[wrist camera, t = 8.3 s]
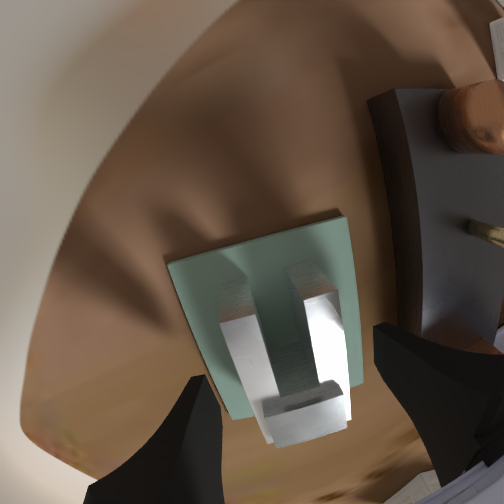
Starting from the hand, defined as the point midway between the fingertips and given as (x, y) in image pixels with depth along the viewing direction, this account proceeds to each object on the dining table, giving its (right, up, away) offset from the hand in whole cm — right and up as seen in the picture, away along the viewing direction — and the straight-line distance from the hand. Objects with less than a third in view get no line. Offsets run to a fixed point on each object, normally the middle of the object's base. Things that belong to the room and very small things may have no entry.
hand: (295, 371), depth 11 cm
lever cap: (0, +1, +2) cm, 3 cm away
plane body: (+9, +5, +2) cm, 11 cm away
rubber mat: (0, +1, +3) cm, 3 cm away
